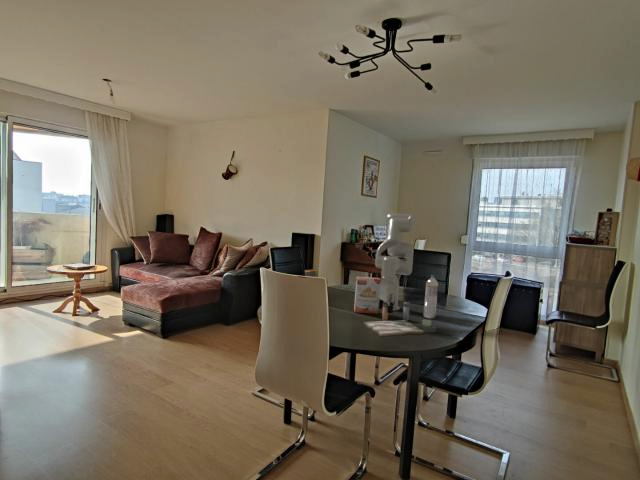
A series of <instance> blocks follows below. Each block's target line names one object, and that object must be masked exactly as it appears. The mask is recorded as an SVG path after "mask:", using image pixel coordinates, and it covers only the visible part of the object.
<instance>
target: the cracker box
mask: <svg viewBox="0 0 640 480" xmlns="http://www.w3.org/2000/svg"><path fill="white" fill-rule="evenodd" d="M380 282H381V278H380V277H369V276H356V279H355V293H354V302H353V303H354V305H353V311H354V313H359V314H376V315H378V314H379V302H380V301H379V298H378V293H379V287H380Z"/></svg>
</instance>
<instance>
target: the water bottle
mask: <svg viewBox="0 0 640 480" xmlns="http://www.w3.org/2000/svg"><path fill="white" fill-rule="evenodd" d="M438 286H439V283H438V281H437V279H436V278H435V275H432V274H431V275H430V278H429V279H427V280H426V282H425V293H424V294H425V295H424V302H423V303H424V304H423V317H424V318H426V319H428V320H431V319H432V320H433V319H436V313H437V312H436V311H437V303H438V301H437V300H438Z"/></svg>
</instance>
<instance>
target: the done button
mask: <svg viewBox="0 0 640 480" xmlns="http://www.w3.org/2000/svg"><path fill="white" fill-rule="evenodd" d="M421 323H422V326H424V327H431V325H432V320H431V319H427V318H426V319H422V320H421Z"/></svg>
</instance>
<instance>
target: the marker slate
mask: <svg viewBox="0 0 640 480" xmlns="http://www.w3.org/2000/svg"><path fill="white" fill-rule="evenodd" d="M410 308H411V303H410V302H409V301H408V302H407V301H405V302H403V309H402V310H403V312H402V320H405V321H406V322H408V321H409V319H410V318H409V317H410Z"/></svg>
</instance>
